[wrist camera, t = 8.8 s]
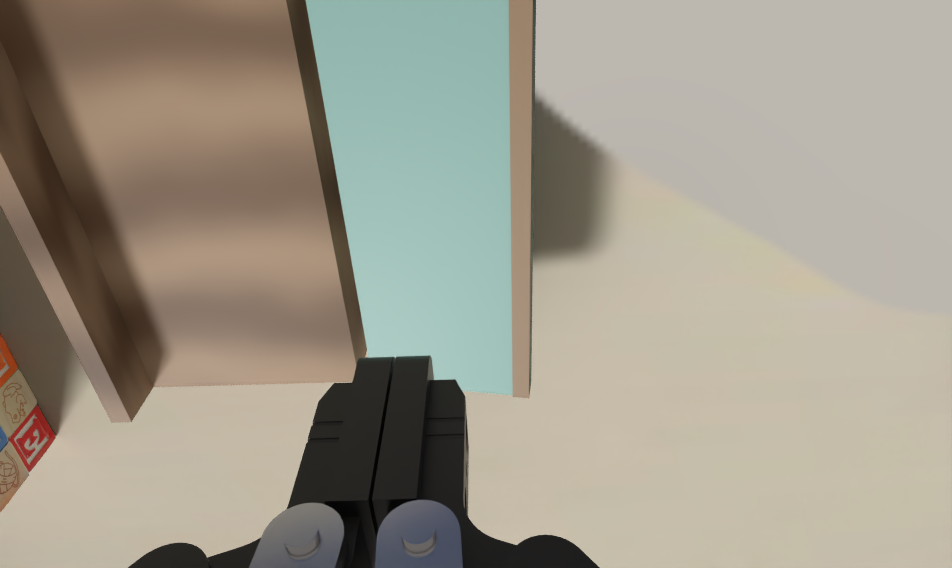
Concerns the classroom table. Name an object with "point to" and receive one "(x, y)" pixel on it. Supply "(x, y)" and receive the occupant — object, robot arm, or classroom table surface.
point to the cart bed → (178, 192)
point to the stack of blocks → (18, 428)
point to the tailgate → (436, 177)
